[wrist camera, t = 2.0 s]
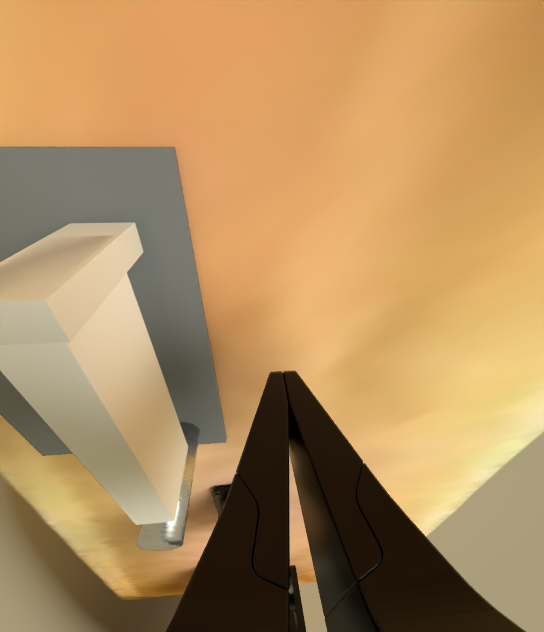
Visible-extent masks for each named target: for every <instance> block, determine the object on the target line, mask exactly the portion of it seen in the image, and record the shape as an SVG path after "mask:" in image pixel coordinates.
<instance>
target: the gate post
mask: <svg viewBox="0 0 544 632" xmlns="http://www.w3.org/2000/svg"><path fill="white" fill-rule="evenodd" d="M180 425H181V428H182V431H183V434H184V437H185V439H186V442H187V445H188V451H187V456H186V462H185V467H184V473H183V478H182V484H181V489H180V495H179V500H178V506H177V511H176V517H175V521H174V522H163V523H152V524H142V527H141V530H140V534H139V538H138V542H137V546H138V547H139V548H141V549H145V550H151V551H165V550H172V549H176V548H178V547H180V546H182V545H183V540H184V533H185V526H186V520H187V513H188V507H189V500H190V493H191V487H192V480H193V474H194V467H195V461H196V454H197V447H198V441H199V434H200V430H199V428H198V427H197V426H196V425H194V424H191V423H187V422H180Z"/></svg>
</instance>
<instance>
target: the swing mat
mask: <svg viewBox="0 0 544 632" xmlns="http://www.w3.org/2000/svg"><path fill="white" fill-rule="evenodd" d="M127 222H135V224H136V228H137V231H138V235H139V238H140V241H141V245H142V248H143V253H142V254H141V256H140V257H139V258H138V259H137V261H136V262H135V263H134V264H133V266H132V267H131V268H130V269H129V270H128V272H127V275H128V278H129V280H130V283H131V286H132V289H133V292H134V295H135V297H136V300H137V303H138V306H139V309H140V312H141V314H142V317H143V320H144V323H145V326H146V329H147V332H148V334H149V337H150V340H151V343H152V346H153V349H154V351H155V354H156V357H157V360H158V363H159V366H160V368H161V371H162V374H163V377H164V380H165V383H166V385H167V388H168V391H169V394H170V397H171V400H172V403H173V405H174V408H175V411H176V414H177V417H178V420H179V422H187V423H191V424H194V425H196V426H197V427H198V428H199V430H200V434H199V441H198V444H211V443H224V442H226V438H227V437H226V432H225V426H224V421H223V415H222V409H221V404H220V398H219V392H218V387H217V381H216V375H215V370H214V364H213V359H212V353H211V347H210V342H209V336H208V330H207V325H206V319H205V313H204V308H203V302H202V297H201V291H200V285H199V280H198V274H197V268H196V263H195V257H194V252H193V246H192V240H191V235H190V229H189V223H188V218H187V212H186V206H185V201H184V195H183V190H182V184H181V178H180V173H179V167H178V161H177V156H176V150H175V147H0V262H2V261H3V260H5V259H7V258H9V257H11V256H12V255H14V254H16V253H18V252H20V251H21V250H23V249H25V248H27V247H29V246H30V245H32V244H34V243H36V242H37V241H39V240H41V239H43V238H45V237H46V236H48V235H50V234H52V233H54V232H55V231H57V230H59V229H61V228H63V227H64V226H66V225H68V224H70V223H127ZM0 414H1V415H2V416H3V417H4V418H5V419H6V420H7V421H8V422H9V423H10V424H11V425H12V426H13V427H14V428H15V429H16V430H17V431H18V432H19V433H20V434H21V435H22V436H23V437H24V438H25V439H26V440H27V441H28V442H29V443H30V444H31V445H32V446H33V447H34V448H35V449H36V450H37V451H38V452H39V453H41V454H42V455H43V456H45V455H59V454H72V452H71V450H70V449H69V448H68V447H67V446H66V445H65V444H64V443H63V441H62V440H61V439H60V438H59V437H58V436H57V435H56V433H55V432H54V431H53V430H52V429H51V428H50V427H49V425H48V424H47V423H46V422H45V421H44V420H43V419H42V417H41V416H40V415H39V414H38V413H37V412H36V411H35V410H34V408H33V407H32V406H31V405H30V404H29V403H28V402H27V400H26V399H25V398H24V397H23V396H22V395H21V394H20V392H19V391H18V390H17V389H16V388H15V387H14V386H13V384H12V383H11V382H10V381H9V380H8V379H7V378H6V377H5V375H4V374H3V373H2V372H1V371H0Z"/></svg>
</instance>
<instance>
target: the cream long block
mask: <svg viewBox="0 0 544 632" xmlns="http://www.w3.org/2000/svg"><path fill="white" fill-rule="evenodd" d="M142 253H143V248H142V245H141V241H140V238H139V235H138V231H137V228H136V224H135V222H127V223H70V224H68V225H66V226H64V227H63V228H61V229H59V230H57V231H55V232H54V233H52V234H50V235H48V236H46V237H45V238H43V239H41V240H39V241H37V242H36V243H34V244H32V245H30V246H29V247H27V248H25V249H23V250H21V251H20V252H18V253H16V254H14V255H12V256H11V257H9V258H7V259H5V260H3V261H2V262H0V371H1V372H2V373H3V374H4V375H5V377H6V378H7V379H8V380H9V381H10V382H11V383H12V384H13V386H14V387H15V388H16V389H17V390H18V391H19V392H20V394H21V395H22V396H23V397H24V398H25V399H26V400H27V402H28V403H29V404H30V405H31V406H32V407H33V408H34V410H35V411H36V412H37V413H38V414H39V415H40V416H41V417H42V419H43V420H44V421H45V422H46V423H47V424H48V425H49V427H50V428H51V429H52V430H53V431H54V432H55V433H56V435H57V436H58V437H59V438H60V439H61V440H62V441H63V443H64V444H65V445H66V446H67V447H68V448H69V449H70V450H71V452H72V453H73V454H74V455H75V456H76V457H77V458H78V460H79V461H80V462H81V463H82V464H83V465H84V466H85V468H86V469H87V470H88V471H89V472H90V473H91V474H92V476H93V477H94V478H95V479H96V480H97V481H98V482H99V484H100V485H101V486H102V487H103V488H104V489H105V490H106V491H107V493H108V494H109V495H110V496H111V497H112V498H113V499H114V501H115V502H116V503H117V504H118V505H119V506H120V507H121V509H122V510H123V511H124V512H125V513H126V514H127V515H128V517H129V518H130V519H131V520H132V521H133V522H134V523H135V524H136V525H141V524H152V523H163V522H174V521H175V517H176V511H177V506H178V500H179V495H180V489H181V484H182V478H183V473H184V467H185V462H186V456H187V451H188V445H187V442H186V439H185V437H184V434H183V431H182V428H181V425H180V422H179V420H178V417H177V414H176V411H175V408H174V405H173V403H172V400H171V397H170V394H169V391H168V388H167V385H166V383H165V380H164V377H163V374H162V371H161V368H160V366H159V363H158V360H157V357H156V354H155V351H154V349H153V346H152V343H151V340H150V337H149V334H148V332H147V329H146V326H145V323H144V320H143V317H142V314H141V312H140V309H139V306H138V303H137V300H136V297H135V295H134V292H133V289H132V286H131V283H130V280H129V278H128V275H127V272H128V270H129V269H130V268H131V267H132V266H133V264H134V263H135V262H136V261H137V259H138V258H139V257H140V256H141V254H142Z"/></svg>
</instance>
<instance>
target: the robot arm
mask: <svg viewBox="0 0 544 632" xmlns="http://www.w3.org/2000/svg"><path fill="white" fill-rule="evenodd" d="M289 453H290V458H291V462H292V467H293V472H294V476H295V481H296V486H297V491H298V495H299V500H300V505H301V509H302V514H303V519H304V523H305V528H306V533H307V538H308V542H309V547H310V552H311V556H312V561H313V566H314V570H315V575H316V580H317V584H318V589H319V593H320V599H321V603H322V608H323V613H324V616H325V622H326V627H327V632H526V631H524V630H523V629H522V628H520V627H519V626H518V625H516V624H515V623H514V622H512V621H511V620H510V619H508V618H507V617H506V616H504V615H503V614H502V613H501V612H499V611H498V610H497V609H496V608H494V607H493V606H492V605H491V604H490V603H489V602H487V601H486V600H485V599H484V598H483V597H482V596H481V595H480V594H479V593H478V592H476V591H475V590H474V589H473V588H472V587H471V586H470V585H469V584H468V583H467V582H466V581H465V580H464V578H463V577H461V575H460V574H459V573H458V572H457V571H456V570H455V569H454V567H453V566H452V565H451V564H450V563H449V562H448V561H447V560H446V559H445V558H444V556H443V555H442V554H441V553H440V552H439V551H438V550H437V548H436V547H435V546H434V545H433V544H432V543H431V542H430V541H429V540H428V539H427V537H426V536H425V535H424V534H423V533H422V532H421V531H420V530H419V528H418V527H417V526H416V525H415V524H414V523H413V522H412V521H411V520H410V518H409V517H408V516H407V515H406V514H405V513H404V512H403V510H402V509H401V508H400V507H399V506H398V505H397V503H396V502H395V501H394V500H393V499H392V498H391V496H390V495H389V494H388V493H387V491H386V490H385V489H384V488H383V486H382V485H381V484H380V483H379V481H378V480H377V479H376V477H375V476H374V475H373V473H372V472H371V471H370V469H369V468H368V467H367V465H366V464H365V463H364V464H363V460H362V459H361V458H360V456H359V455H358V454H357V452H356V451H355V450H354V448H353V447H352V446H351V444H350V443H349V442H348V440H347V439H346V438H345V436H344V435H343V434H342V432H341V431H340V429H339V428H338V427H337V425H336V424H335V423H334V421H333V420H332V419H331V417H330V416H329V415H328V413H327V412H326V411H325V409H324V408H323V407H322V405H321V404H320V403H319V401H318V400H317V399H316V397H315V396H314V395H313V393H312V392H311V391H310V389H309V388H308V387H307V385H306V384H305V383H304V381H303V380H302V379H301V377H300V376H299V375H298V373H297V372H296V371H284V372H283V373H282V372H281V371H277V372H270V374H269V377H268V380H267V383H266V386H265V389H264V391H263V394H262V397H261V400H260V403H259V406H258V409H257V412H256V415H255V418H254V421H253V424H252V426H251V429H250V432H249V435H248V438H247V441H246V444H245V447H244V450H243V453H242V456H241V459H240V462H239V464H238V467H237V470H236V474H235V476H234V479H233V481H232V484H231V486H229V487H217V488H214V489H213V492H212V495H213V498H214V502H215V505H216V508H217V511H218V520H217V523H216V525H215V527H214V530H213V532H212V534H211V537H210V539H209V541H208V543H207V545H206V547H205V549H204V551H203V554H202V556H201V558H200V560H199V562H198V564H197V566H196V569H195V571H194V573H193V575H192V577H191V579H190V581H189V583H188V586H187V588H186V590H185V592H184V594H183V596H182V598H181V601H180V603H179V605H178V607H177V609H176V611H175V613H174V615H173V617H172V619H171V621H170V623H169V625H168V627H167V629H166V631H165V632H306V627H305V621H304V616H303V609H302V604H301V597H300V591H299V585H298V579H297V573H296V567H295V565H292V566H290V553H289Z"/></svg>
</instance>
